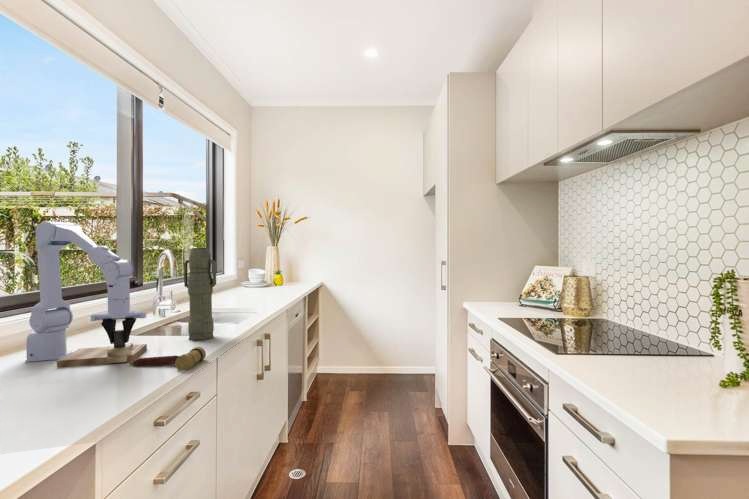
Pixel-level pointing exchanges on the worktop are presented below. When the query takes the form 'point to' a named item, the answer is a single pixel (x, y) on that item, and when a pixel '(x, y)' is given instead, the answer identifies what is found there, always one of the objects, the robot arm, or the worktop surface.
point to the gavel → (173, 360)
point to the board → (96, 356)
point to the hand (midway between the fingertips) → (119, 342)
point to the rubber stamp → (118, 348)
